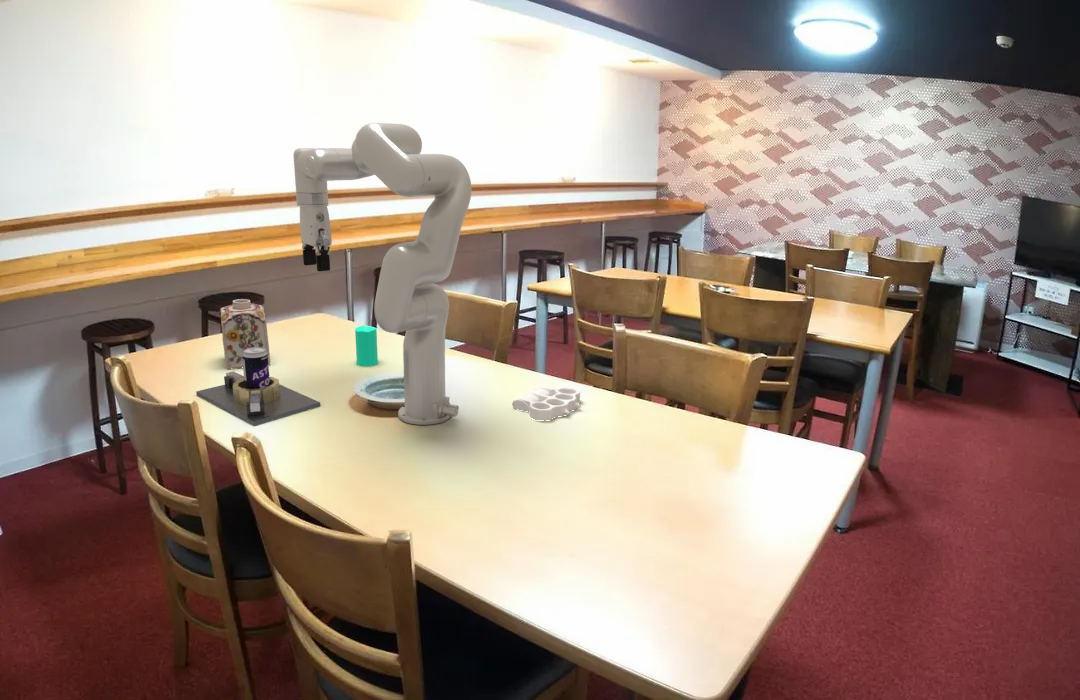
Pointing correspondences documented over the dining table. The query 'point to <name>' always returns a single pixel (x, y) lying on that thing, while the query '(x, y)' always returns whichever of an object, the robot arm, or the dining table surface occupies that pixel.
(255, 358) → the beverage can
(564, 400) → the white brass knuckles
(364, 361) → the candle
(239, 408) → the grey plate with collar
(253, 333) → the decorative jar
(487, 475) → the dining table surface
